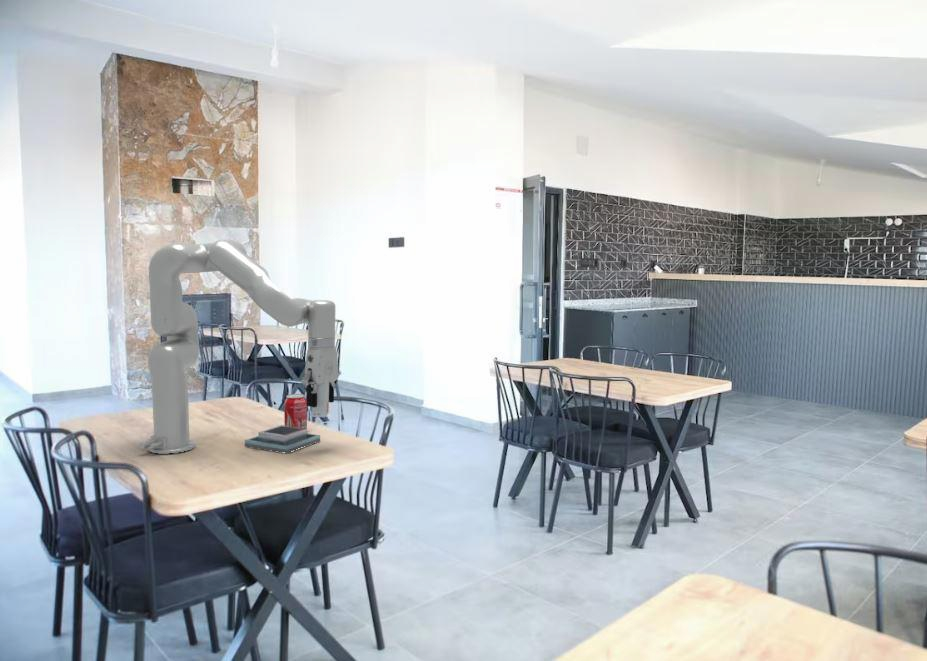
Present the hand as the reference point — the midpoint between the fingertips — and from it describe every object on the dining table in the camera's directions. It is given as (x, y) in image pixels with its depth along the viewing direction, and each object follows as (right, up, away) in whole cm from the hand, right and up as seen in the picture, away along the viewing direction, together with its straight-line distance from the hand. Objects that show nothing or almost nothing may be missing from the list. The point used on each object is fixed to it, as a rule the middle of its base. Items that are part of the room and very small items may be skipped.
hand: (320, 403), depth 195 cm
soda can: (-13, -12, +22) cm, 28 cm away
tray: (-13, -13, +8) cm, 20 cm away
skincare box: (0, -3, 0) cm, 4 cm away
